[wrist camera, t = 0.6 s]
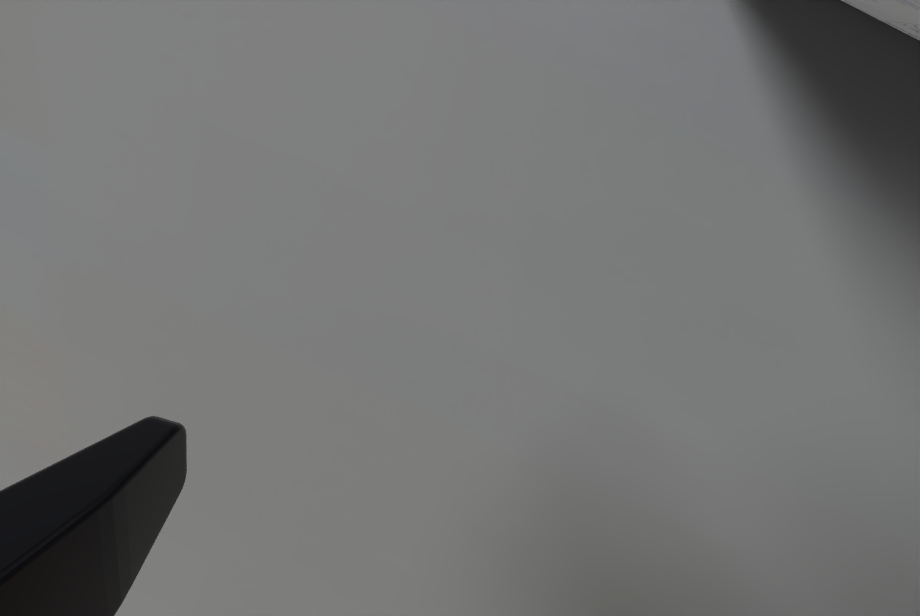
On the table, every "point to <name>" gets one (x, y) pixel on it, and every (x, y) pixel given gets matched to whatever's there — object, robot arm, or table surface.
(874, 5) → the light bulb box
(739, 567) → the table surface
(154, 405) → the table surface
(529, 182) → the table surface
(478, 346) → the table surface
